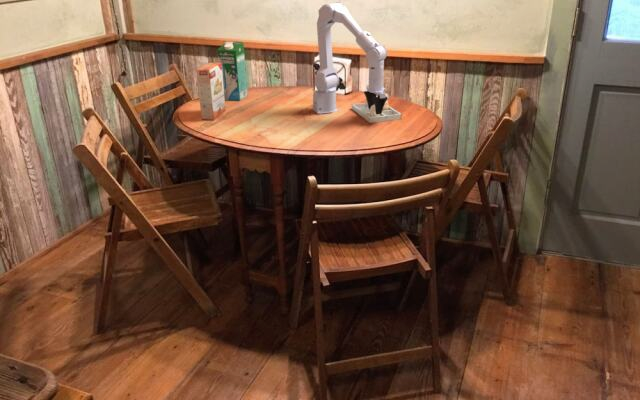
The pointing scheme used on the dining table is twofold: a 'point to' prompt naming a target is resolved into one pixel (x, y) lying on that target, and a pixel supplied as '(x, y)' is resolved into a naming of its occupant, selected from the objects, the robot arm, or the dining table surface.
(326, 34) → the robot arm
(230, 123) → the dining table surface
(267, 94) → the dining table surface
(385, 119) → the egg carton
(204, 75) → the cracker box
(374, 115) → the cream egg
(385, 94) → the donut
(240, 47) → the milk carton
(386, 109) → the brown egg
